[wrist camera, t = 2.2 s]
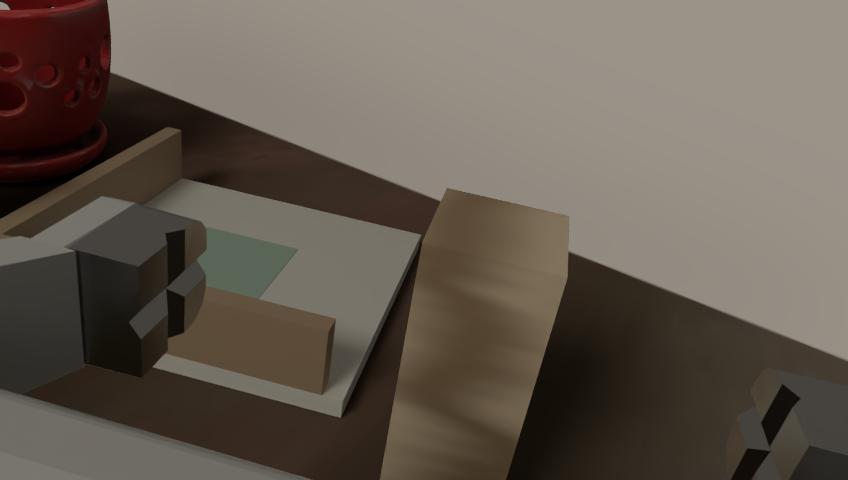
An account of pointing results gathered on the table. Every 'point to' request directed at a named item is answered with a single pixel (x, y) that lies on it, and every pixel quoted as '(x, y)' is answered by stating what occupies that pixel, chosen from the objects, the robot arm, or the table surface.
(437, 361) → the beech block
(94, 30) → the plant pot
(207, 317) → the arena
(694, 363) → the table surface
